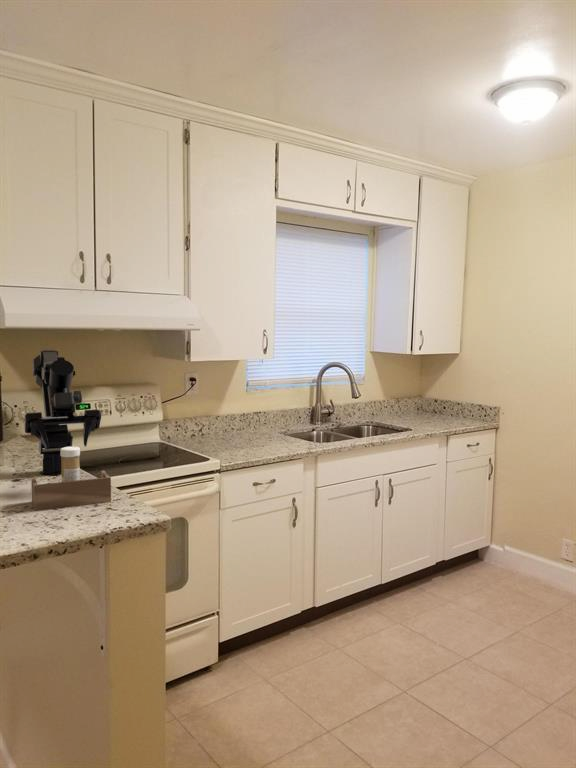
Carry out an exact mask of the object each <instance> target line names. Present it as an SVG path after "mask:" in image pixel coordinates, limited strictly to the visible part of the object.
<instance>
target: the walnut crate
mask: <svg viewBox="0 0 576 768" xmlns="http://www.w3.org/2000/svg"><path fill="white" fill-rule="evenodd" d="M100 473H101V474H100V478H99V477H98V478H89V479H80V480H77V481H67V482H61V481H59V482H58V481H57V482H49V483H38V482H37V479H36V477H31V478H30V479H31V480H30V482H31V483H30V484H31V486H30V487H31V502H32V506H33V509H34V511H42V510H43V511H44V510H49V509H50V510H51V509H60V508H68V507H76V506H85V505H91V504H92V505H93V504H100V503H101V504H102V503H108V502H112V480H111V479H112V478H111V476H110V475H109V474H108V473H107V472H106V471H105V470H101V471H100Z"/></svg>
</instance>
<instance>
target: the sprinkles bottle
mask: <svg viewBox="0 0 576 768" xmlns="http://www.w3.org/2000/svg"><path fill="white" fill-rule="evenodd" d="M60 455H61V466H62V467H61V468H62V472H61V474H60V475H61V477H60V478H61V481H60V482H67V481H77V480H81V467H80V455H81V449H80V447H78V446H72V447H64V448H61V450H60Z"/></svg>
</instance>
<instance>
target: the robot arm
mask: <svg viewBox="0 0 576 768" xmlns="http://www.w3.org/2000/svg"><path fill="white" fill-rule="evenodd" d="M31 369H32V376H33V377H34V378H35V379H34V380H35V384H36V385H38V386H39V387H40V388H41V391H42V401H43V410H44V411H43V412H44V416H42V415H43V414H42V412H41V411H38V412H37V411H35V412H26V414H25V415H24V433H26V434H30V435H31V436H35V437H36V438H37V439H38V453H39V454H40V455H43V456H42V457H43V458H42V470H40V471H39V474H41V475H50V476H58V475H61V472H62V468H61V467H62V466H61V455H60V450H61V448H64V447H73V441H74V440H73V438H74V437H73V435H72V434H71V431H69V427H68V425H80V424H81V425H83V431H82V433H83V436H82V437H83V445H84V447H85V448H86V447H87V444H88V440H89V437H90V434H91V432H95V430H97V429H99V428H100V425H101V420H102V414H101V411H100V409H85V410H84V414H83V415H75V413H76V405H80V404H82V402H83V396H82V391H81V390H74V391H73V392H71V386H72V384H73V378H74V376H76V371H75V368H74V365H73V364H72V362H70V361H69V360H66V359H65V357H64V356H63V357H61V356H59V352H58V350H55V349H51V350H50V349H46V350H45V349H43V350H40V351H39V355H37V356H35V358H33V359H32V368H31Z"/></svg>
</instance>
